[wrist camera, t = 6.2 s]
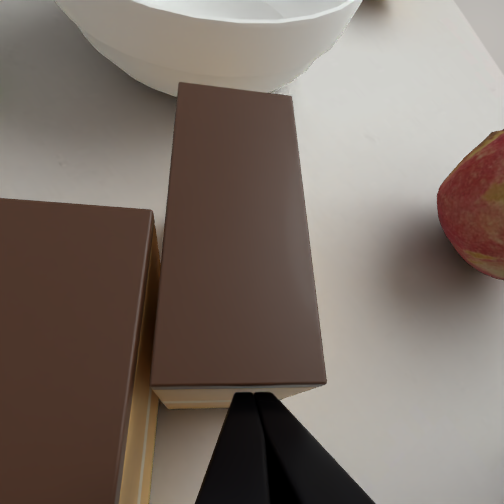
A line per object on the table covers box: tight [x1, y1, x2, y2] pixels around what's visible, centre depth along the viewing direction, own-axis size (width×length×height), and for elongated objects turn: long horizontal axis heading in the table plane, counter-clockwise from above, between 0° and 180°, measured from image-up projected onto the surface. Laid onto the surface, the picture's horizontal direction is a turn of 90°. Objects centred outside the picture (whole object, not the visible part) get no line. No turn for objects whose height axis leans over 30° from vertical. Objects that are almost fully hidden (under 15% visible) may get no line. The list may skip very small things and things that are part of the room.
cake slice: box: [149, 82, 327, 409], centre depth 13 cm, size 12×4×8 cm, turn 2°
